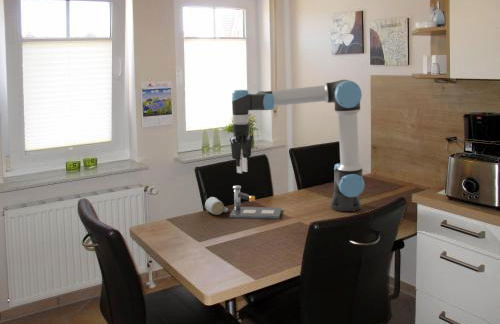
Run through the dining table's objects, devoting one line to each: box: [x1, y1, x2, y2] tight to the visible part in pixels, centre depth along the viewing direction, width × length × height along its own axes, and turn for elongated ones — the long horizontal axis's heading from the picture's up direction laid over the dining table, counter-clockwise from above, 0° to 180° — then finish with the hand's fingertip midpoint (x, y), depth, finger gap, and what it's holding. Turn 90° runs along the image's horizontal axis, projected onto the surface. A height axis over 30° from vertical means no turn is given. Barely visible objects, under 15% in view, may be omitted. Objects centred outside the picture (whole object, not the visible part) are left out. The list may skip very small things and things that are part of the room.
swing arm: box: [238, 191, 256, 203], centre depth 254 cm, size 11×3×2 cm, turn 37°
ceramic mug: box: [204, 196, 229, 216], centre depth 259 cm, size 11×8×8 cm
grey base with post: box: [229, 184, 283, 220], centre depth 256 cm, size 24×14×13 cm, turn 82°
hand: (242, 172), depth 248 cm, fingers open, 3 cm apart
